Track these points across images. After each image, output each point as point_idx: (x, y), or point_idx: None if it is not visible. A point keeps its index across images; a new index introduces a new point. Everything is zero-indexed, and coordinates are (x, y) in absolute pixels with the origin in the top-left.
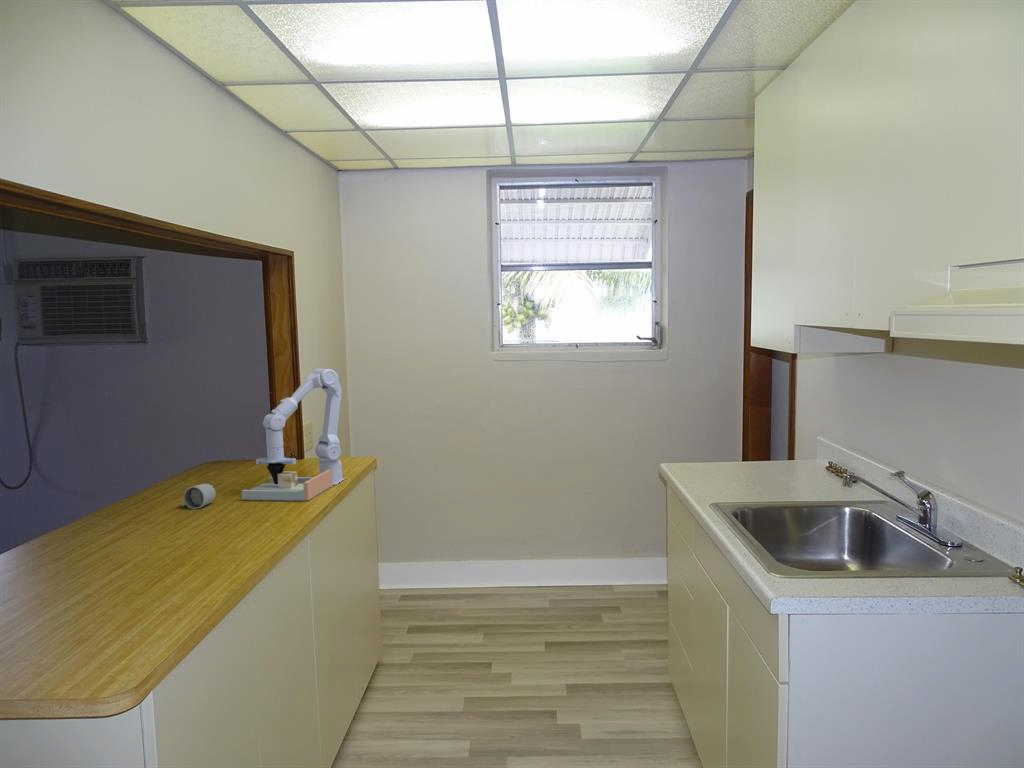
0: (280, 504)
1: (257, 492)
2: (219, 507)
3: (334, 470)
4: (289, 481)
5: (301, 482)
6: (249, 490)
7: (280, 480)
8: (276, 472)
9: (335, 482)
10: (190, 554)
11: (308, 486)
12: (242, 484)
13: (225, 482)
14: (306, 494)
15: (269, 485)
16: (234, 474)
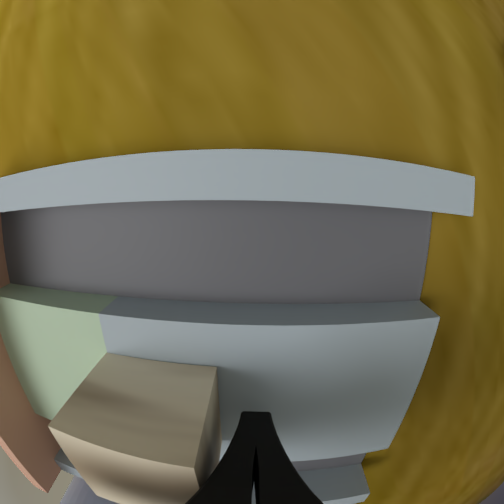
0: (90, 93)
1: (327, 153)
2: (457, 44)
3: (62, 498)
4: (91, 389)
5: None
6: (423, 185)
7: (176, 412)
8: (218, 495)
9: None
10: None
11: None
12: (464, 444)
13: (500, 436)
14: None
15: (333, 425)
16: (472, 482)
